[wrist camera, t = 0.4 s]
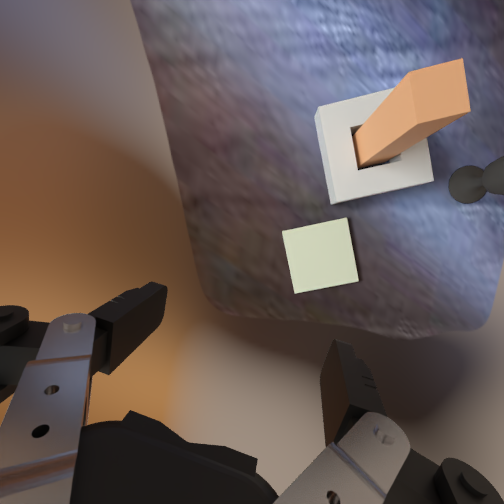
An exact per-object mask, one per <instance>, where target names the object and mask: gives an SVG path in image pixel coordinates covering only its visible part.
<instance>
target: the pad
mask: <svg viewBox="0 0 504 504" xmlns="http://www.w3.org/2000/svg"><path fill="white" fill-rule="evenodd" d="M282 234H283V239H284V244H285V249H286V254H287V258H288V263H289V268H290V273H291V278H292V283H293V288H294V292H295V293H300V292H305V291H310V290H316V289H321V288H326V287H331V286H336V285H342V284H347V283H352V282H357V281H359V280H358V274H357V269H356V264H355V258H354V253H353V248H352V242H351V237H350V232H349V226H348V221H347V218H342V219H338V220H333V221H328V222H324V223H319V224H314V225H310V226H305V227H300V228H296V229H291V230H286V231H282Z"/></svg>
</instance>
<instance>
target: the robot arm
mask: <svg viewBox="0 0 504 504" xmlns="http://www.w3.org/2000/svg"><path fill="white" fill-rule="evenodd" d="M166 297H167V287H166V286H164V285H161V284H158V283H155V282H149V283H148V284H146V285H145V286H143V287H141V288H140V289H139V288H135V289H132V290H128V291H125V292H124V293H122V294H120V295H119V296H118V297H115V298H114V299H112V300H111V301H109V302H107V303H105V304H104V305H102V306H100V307H99V308H97V309H95V310H94V311H92V312H90V313H89V314H83V313H72V314H66V315H63V316H60V317H57V318H56V319H54V320H53V321H51V322H50V323H47V322H36V321H29V311H28V310H27V309H26V308H24V307H21V306H14V305H7V306H0V403H1V402H3V401H4V400H5V399H7V398H8V397H9V396H10V395H12V394H13V393H14V392H15V393H14V395H13V398H12V400H11V402H10V405H9V407H8V410H7V412H6V414H5V417H4V419H3V422H2V424H1V426H0V504H504V501H503V500H502V498H501V496H500V495H499V493H498V492H497V491H496V489H495V488H494V487H493V486H492V484H491V483H490V482H489V481H488V480H487V479H486V478H485V477H484V476H483V475H482V474H480V473H479V472H478V471H477V470H475V469H474V468H473V467H471V466H470V465H468V464H466V463H465V462H463V461H460V460H458V459H455V458H446V459H444V461H443V462H442V463H441V465H440V466H438V465H437V464H435V463H434V462H432V461H430V460H429V459H427V458H426V457H424V456H422V455H420V454H419V453H417V452H416V451H414V450H413V449H411V448H410V443H409V441H408V439H407V437H406V435H405V434H404V432H403V431H402V430H401V428H400V427H399V426H398V425H397V424H396V423H394V422H393V421H392V420H390V419H389V418H388V417H387V415H386V412H385V409H384V407H383V404H382V401H381V398H380V396H379V393H378V390H376V388H377V387H376V385H375V382H374V381H373V380H374V379H373V376H372V374H371V371H370V369H369V368H368V367H367V365H366V364H365V363H364V362H363V360H361V359H358V358H356V356H355V352H354V349H353V346H352V344H349V343H346V342H343V341H339V340H336V339H334V340H333V341H332V343H331V346H330V348H329V351H328V353H327V356H326V359H325V361H324V364H323V367H322V370H321V375H320V387H321V399H322V410H323V422H324V433H325V444H326V448H325V449H324V450H323V451H322V452H321V453H320V454H319V455H318V457H317V458H316V459H315V460H314V461H313V462H312V463H311V464H310V465H309V466H308V467H307V468H306V469H305V470H304V471H303V472H302V474H300V475H299V476H298V478H297V479H296V480H295V481H294V482H293V483H292V484H291V485H290V486H289V487H288V488H287V489H286V490H285V491H284V492H283V493H282V495H280V496H278V495H277V493H276V492H275V490H274V489H273V488H272V487H271V486H270V485H269V483H268V482H267V481H265V480H264V479H263V478H262V477H261V476H260V475H259V474H257V473H256V465H257V460H258V459H257V458H254V457H252V456H249V455H246V454H244V453H241V452H238V451H236V450H233V449H231V448H228V447H226V446H218V445H207V444H197V443H189V442H187V441H185V440H184V439H182V438H181V437H180V436H179V435H177V434H176V433H175V432H173V431H172V430H171V429H169V428H168V427H166V426H165V425H164V424H163V423H161V422H159V421H157V420H155V419H152V418H149V417H147V416H144V415H141V414H139V413H136V412H134V411H131V410H130V411H129V413H128V414H127V415H126V416H125V417H124V419H123V420H122V421H105V422H98V423H94V424H90V425H87V422H88V413H89V405H90V396H91V387H92V376H93V375H94V374H95V373H96V372H98V371H99V372H102V373H105V374H107V375H110V374H111V373H112V371H114V370H115V369H116V368H117V367H118V366H119V365H120V364H121V363H122V362H123V361H124V360H125V359H126V358H127V357H128V356H129V355H130V354H131V353H132V352H133V351H134V350H135V349H136V348H137V347H138V346H139V345H140V344H141V343H142V342H143V341H144V340H145V339H146V338H147V337H148V336H149V335H150V334H151V333H153V331H155V329H156V328H157V327H158V326H159V325H160V323H161V322H162V319H163V316H164V311H165V304H166Z"/></svg>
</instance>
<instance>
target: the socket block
mask: <svg viewBox="0 0 504 504" xmlns="http://www.w3.org/2000/svg"><path fill="white" fill-rule="evenodd" d="M393 90H394V88H392V89H388V90H384V91H380V92H376V93H372V94H368V95H364V96H360V97H356V98H352V99H348V100H344V101H340V102H336V103H332V104H328V105H324V106H320V107H318V109H317V112H316V115H315V117H314V118H315V124H316V129H317V134H318V139H319V145H320V150H321V155H322V160H323V165H324V171H325V176H326V181H327V186H328V192H329V197H330V202H331V204H336V203H340V202H345V201H350V200H354V199H359V198H363V197H368V196H372V195H377V194H382V193H386V192H391V191H395V190H400V189H404V188H409V187H414V186H418V185H422V184H425V183H428V182H432V181H434V179H433V172H432V166H431V160H430V154H429V148H428V142H427V137H426V138H425V139H423V140H421V141H420V142H418V143H416V144H415V145H413V146H411V147H410V148H408V149H406V150H405V151H403V152H401V153H400V154H398V155H396V156H395V157H393V158H391V159H390V163H389V164H384V165H380V166H375V167H371V168H367V169H362V170H358V168H357V162H356V157H355V151H354V146H353V140H352V135H351V134H354V133H356V132H357V131H358V129H359V128H360V127H361V126H362V125H363V124H364V123H365V122H366V120H367V119H368V118H369V117H370V116H371V115H372V114H373V112H374V111H375V110H376V109H377V108H378V107H379V106H380V104H381V103H382V102H383V101H384V100H385V99H386V98H387V96H388V95H389V94H390V93H391V92H392V91H393Z"/></svg>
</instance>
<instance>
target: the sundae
mask: <svg viewBox="0 0 504 504" xmlns="http://www.w3.org/2000/svg"><path fill="white" fill-rule="evenodd" d="M486 190H487V191H488V192H490V193H493V194H500V195H504V156H503V157H501V158H499V159H497V160H495V161H494V162H492V163H490V164H489V165H488V166H487V167H486V168H485V170H484V171H483V170H482V169H480V168H478V167H475V166H464V167H462V168H459V169H458V170H457V171H455V172H454V173H453V175H452V176H451V178H450V181H449V191H450V194H451V195H452V197H453V198H454V199H455V200H457V201H459V202H461V203H473V202H475V201H478V200H479V199H480V198H481V197H482V196H484V194H485V192H486Z"/></svg>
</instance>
